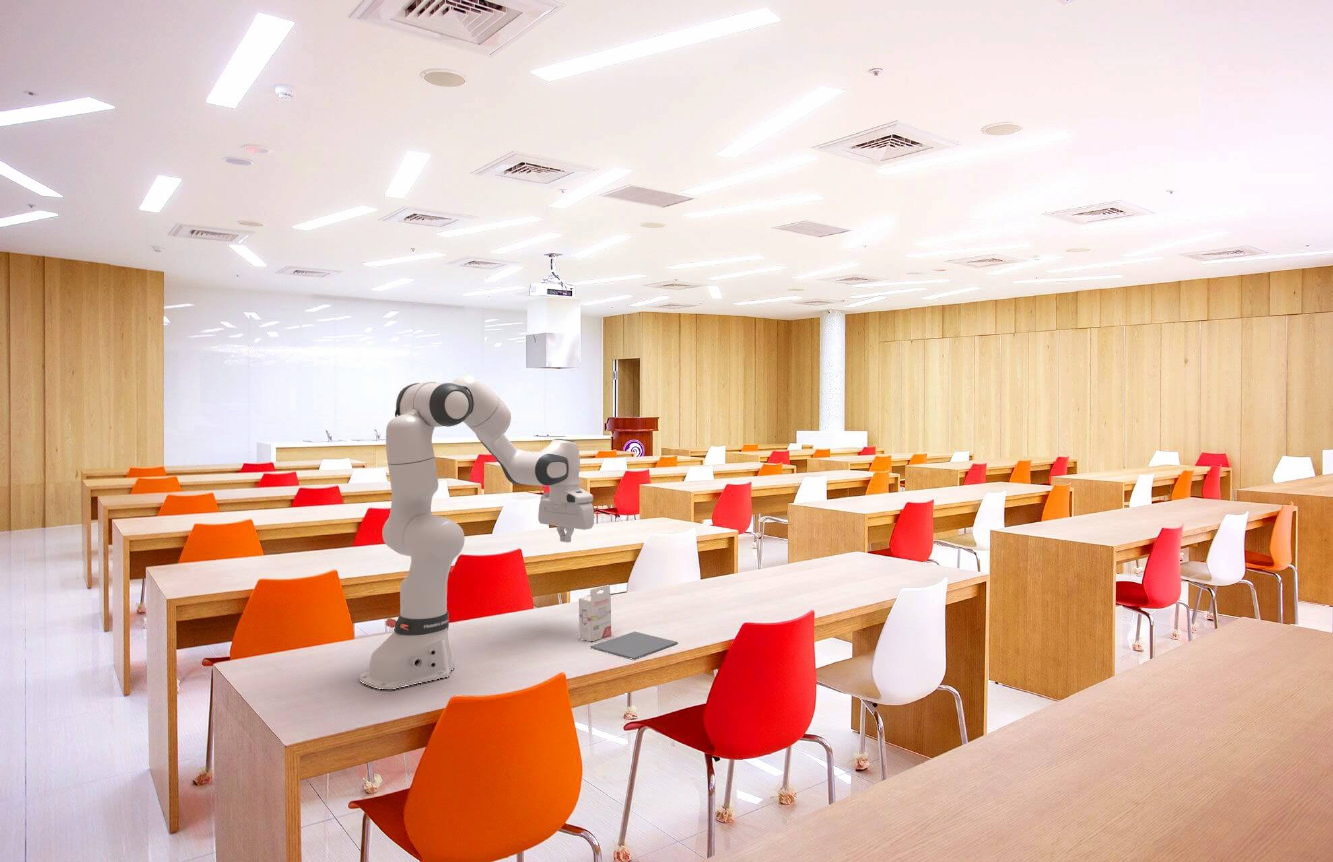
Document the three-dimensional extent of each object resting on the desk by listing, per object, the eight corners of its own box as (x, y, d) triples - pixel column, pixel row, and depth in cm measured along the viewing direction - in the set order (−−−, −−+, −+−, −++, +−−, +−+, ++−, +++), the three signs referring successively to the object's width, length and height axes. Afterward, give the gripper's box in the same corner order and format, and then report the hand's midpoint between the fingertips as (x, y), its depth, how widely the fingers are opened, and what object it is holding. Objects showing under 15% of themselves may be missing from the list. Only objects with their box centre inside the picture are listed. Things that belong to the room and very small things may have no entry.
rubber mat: (634, 659, 210) (634, 658, 210) (590, 648, 220) (590, 646, 220) (677, 643, 224) (677, 642, 224) (634, 633, 234) (634, 631, 234)
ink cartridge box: (598, 632, 235) (598, 581, 235) (611, 635, 232) (611, 584, 232) (578, 639, 228) (577, 587, 228) (591, 642, 225) (591, 589, 225)
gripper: (532, 493, 241) (533, 539, 241) (581, 498, 227) (581, 547, 228) (548, 491, 245) (549, 536, 246) (597, 496, 232) (597, 544, 233)
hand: (565, 541), depth 237 cm, fingers closed
